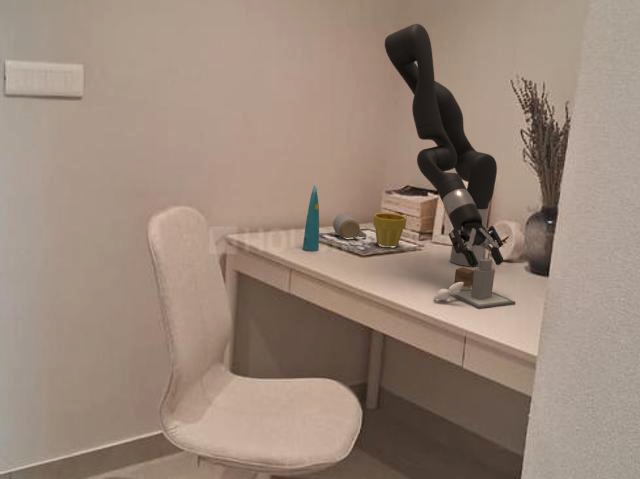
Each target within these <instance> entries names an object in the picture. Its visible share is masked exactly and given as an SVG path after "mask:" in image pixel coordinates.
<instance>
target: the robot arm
mask: <svg viewBox="0 0 640 479" xmlns="http://www.w3.org/2000/svg"><path fill="white" fill-rule="evenodd" d="M384 49H385V52H386V55H387V57H388V59H389V61H390V62H391V64H392V65H393V67H394V68H395V69H396V71H397V73H399V75H400V76H401V78H402V79H403V81H404V82H405V84H407V87H409V89H410V90H411V92H412V94H413V100H412V108H411V109H412V111H411V112H412V118H413V121H414V125H415V129H416V133H417V136H418V138H419V139H420V140H422V141H423V140H424V141H427V140H428V141H433V142H434V143H435V144H436V146H433V147H428V148H425V149H424V148H423V149H422V150H420V151H419V152H418V155H417V158H416V163H417V168H418V169H419V171H420V173H421V174H422V175H423V176H424V178H426V179H427V181H428V182H430V183H431V185H432V186H433V188H434V189H435V190H436V192H437V194H438V195H439V198H440V199H441V202H442V204H443V208H444V210H445V213H446V214H447V217H448V219H449V222H450V224H451V225H452V227H453V229H452V230H451V231H450V232H449V233H448V236H449V239H450V241H451V250H450V262H451V263H453V264H456V265H460V266H463V267H464V266H467V267H470V268H471V269H472V268H476V267H479V260H480V259H483V258H484V251H486V250H487V251H489V250H490V255H491V258H492V260H493V261H494V263H495V265H496V266H500V265H502V263H503V262H504V257H503V255H502V253H501V251H500V248H501V247H503V245H504V243H503V241H502V239H501V237H500V235H499V233H498V232H497V230H496V229H495V226H493V225H491V226H489V227H487V222H488V215H489V214H488V212H489V205H490V203H491V202H492V198H493V195H494V191H495V184H496V179H497V173H498V172H497V171H498V166H497V161H496V160H495V157H493V155H491V154H489V153H485V152H480V151H477V150H475V148H474V147H473V146H472V144H471V143H470V141H469V139H468V138H467V135H466V133H465V130H464V116H463V112H462V109H461V107H460V105H459V103H458V101H457V100H456V97H455V96H454V94H453V93H452V91H451V90H450V89H449V88H447V87H446V86H444V85H443V84H441V83H440V82H439V81H436V79H435V68H434V60H433V50H432V49H433V48H432V42H431V39H430V35H429V33H428V31H427V29H426V28H425V27H424V26H423V25H422V24H420V23H414V24H411V25H407V27H404V28H402V29H399V30H397V31H394V32H393V33H390V34H389V35H387V36H386V37H385V39H384ZM415 62H416V63H417V64H416V63H415ZM451 170H454V171H455V172H448V171H451ZM463 181H464V182H466V183H467V187H466V185H465V183H464V182H463Z"/></svg>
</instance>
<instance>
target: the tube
mask: <svg viewBox="0 0 640 479" xmlns="http://www.w3.org/2000/svg"><path fill="white" fill-rule="evenodd" d="M319 206H320V205H319V196H318V188H317V186H316V185H313V188H312V190H311V194H310V198H309V204H308V209H307V216H306V220H305V228H304V233H303V244H302V249H303V250H304V251H310V252H315V251H319V248H320V243H319V242H320V207H319Z"/></svg>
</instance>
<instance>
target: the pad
mask: <svg viewBox="0 0 640 479" xmlns="http://www.w3.org/2000/svg"><path fill="white" fill-rule="evenodd" d="M471 293H472V288H471V289H460V293H459V294H457V295H449V297H452V298H454V299H456V300H459V301H460V302H463V303H465V304H467V305H469V306H471V305H472V306H471V307H473V306H474V308H476V309H477V310H481V308H482V309H490V308H497V307H503V306H512V305H516V301H515V300H512V299H510V298H508V297H505V296H503V295H501V294H498V293H495V292H493V291H492V297H489V298H486V299H482V300H479V299H476V298H473V297H471ZM489 307H490V308H489Z"/></svg>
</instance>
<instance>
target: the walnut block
mask: <svg viewBox="0 0 640 479" xmlns="http://www.w3.org/2000/svg"><path fill="white" fill-rule="evenodd" d="M473 277H474V269H472V268H468V267H464V266H463V267H460V268H457V269H455V272H454V281H453V282H454V283H453V284H455V283H458V282H464V284H463V286H462V287H466V288H469V287H471V286H472V285H473Z"/></svg>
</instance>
